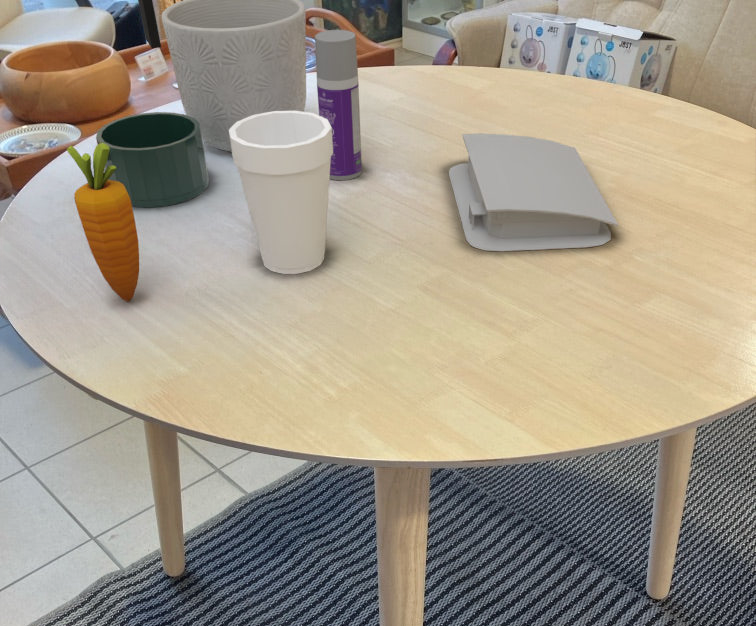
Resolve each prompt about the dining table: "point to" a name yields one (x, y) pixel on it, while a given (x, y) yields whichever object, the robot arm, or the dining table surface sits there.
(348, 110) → the container
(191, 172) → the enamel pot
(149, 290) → the dining table surface
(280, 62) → the planter
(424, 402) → the dining table surface
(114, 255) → the carrot
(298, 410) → the dining table surface
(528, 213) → the grey flat folded piece
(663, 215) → the dining table surface
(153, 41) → the robot arm
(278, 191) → the foam cup
